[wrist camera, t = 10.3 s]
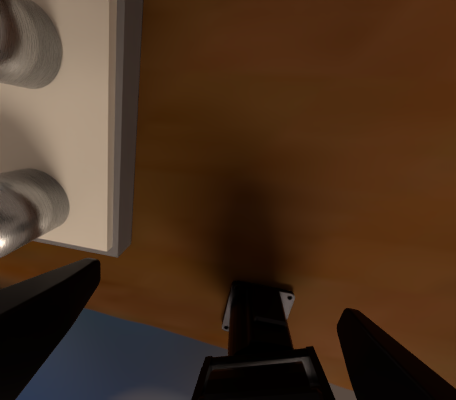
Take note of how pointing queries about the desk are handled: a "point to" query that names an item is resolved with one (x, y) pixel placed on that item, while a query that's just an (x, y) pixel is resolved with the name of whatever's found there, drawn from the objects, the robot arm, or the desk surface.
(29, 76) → the cylinder
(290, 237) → the desk surface
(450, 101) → the desk surface
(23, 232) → the cylinder
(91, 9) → the scale
